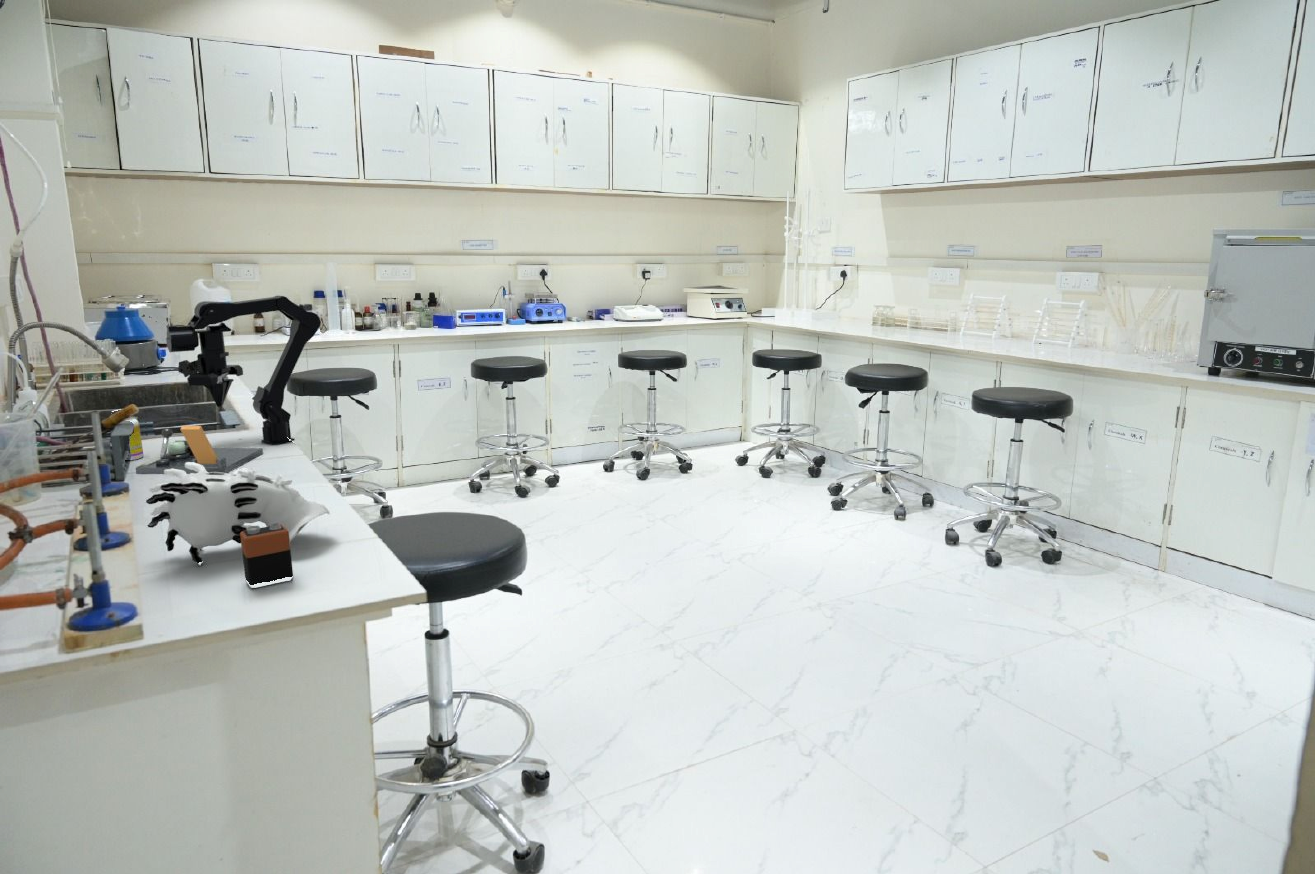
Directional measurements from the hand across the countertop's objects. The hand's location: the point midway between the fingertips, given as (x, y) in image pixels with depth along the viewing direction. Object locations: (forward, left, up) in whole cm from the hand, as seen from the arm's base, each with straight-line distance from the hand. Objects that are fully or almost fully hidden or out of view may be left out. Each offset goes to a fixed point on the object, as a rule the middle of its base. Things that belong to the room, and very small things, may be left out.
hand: (219, 406), depth 227 cm
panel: (+12, +9, -12) cm, 19 cm away
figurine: (+45, +75, -12) cm, 88 cm away
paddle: (+17, +19, -10) cm, 27 cm away
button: (+15, +4, -9) cm, 18 cm away
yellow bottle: (+19, -12, -12) cm, 26 cm away
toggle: (+21, +7, -10) cm, 24 cm away
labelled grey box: (+10, 0, -8) cm, 13 cm away
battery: (+52, +92, -12) cm, 106 cm away
